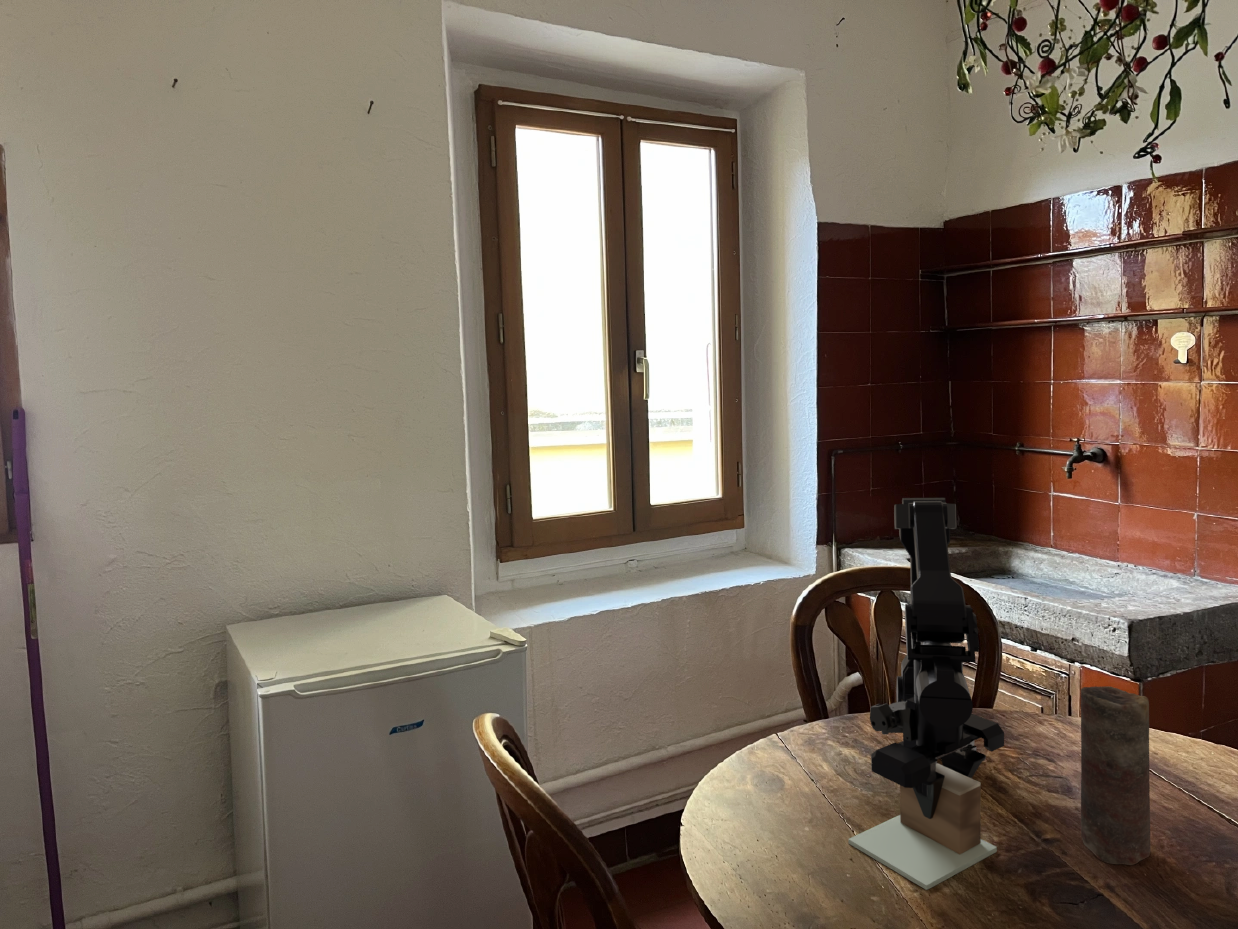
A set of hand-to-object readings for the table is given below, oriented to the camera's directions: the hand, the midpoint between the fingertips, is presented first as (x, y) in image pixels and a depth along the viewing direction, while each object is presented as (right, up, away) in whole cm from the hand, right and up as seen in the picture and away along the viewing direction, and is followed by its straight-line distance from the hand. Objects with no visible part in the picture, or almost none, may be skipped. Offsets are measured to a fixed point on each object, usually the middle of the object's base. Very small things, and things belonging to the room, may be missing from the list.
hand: (939, 811), depth 109 cm
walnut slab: (0, -3, 0) cm, 3 cm away
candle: (+20, -3, -4) cm, 20 cm away
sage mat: (-3, -4, -1) cm, 5 cm away
